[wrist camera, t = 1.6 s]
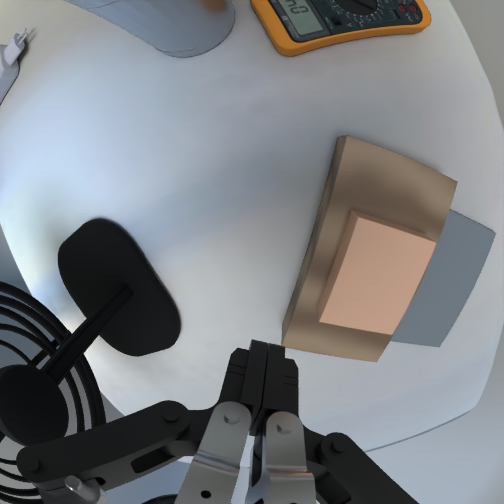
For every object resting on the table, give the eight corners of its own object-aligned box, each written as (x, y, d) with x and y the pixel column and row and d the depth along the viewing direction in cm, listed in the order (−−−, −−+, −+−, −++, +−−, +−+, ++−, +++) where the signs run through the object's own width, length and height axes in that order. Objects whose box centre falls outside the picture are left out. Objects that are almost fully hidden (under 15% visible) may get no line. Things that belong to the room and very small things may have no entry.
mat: (430, 201, 24) (433, 202, 24) (493, 231, 24) (496, 233, 23) (373, 335, 31) (374, 338, 31) (437, 344, 31) (439, 347, 30)
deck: (338, 136, 23) (347, 135, 20) (438, 175, 23) (457, 181, 19) (282, 324, 32) (281, 346, 28) (369, 341, 32) (376, 362, 28)
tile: (351, 209, 22) (358, 217, 20) (424, 233, 22) (436, 242, 20) (316, 306, 26) (319, 321, 24) (385, 320, 26) (392, 334, 23)
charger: (40, 47, 21) (-3, 113, 25) (32, 20, 18) (-10, 83, 23) (19, 44, 16) (-23, 116, 21) (14, 16, 14) (-27, 83, 18)
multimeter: (427, 35, 17) (441, 26, 14) (281, 63, 22) (281, 52, 18) (392, -21, 15) (400, -34, 11) (248, 3, 19) (243, -12, 16)
